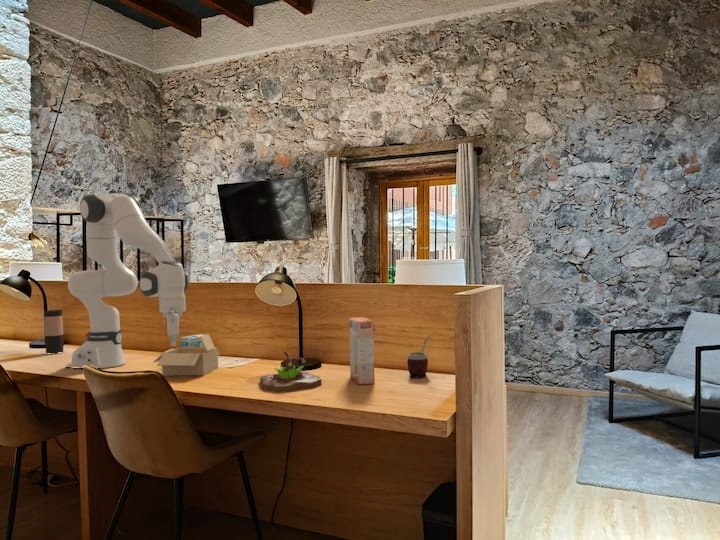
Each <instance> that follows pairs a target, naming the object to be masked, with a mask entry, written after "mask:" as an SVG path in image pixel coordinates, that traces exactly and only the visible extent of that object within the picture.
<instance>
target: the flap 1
mask: <svg viewBox="0 0 720 540" xmlns="http://www.w3.org/2000/svg"><path fill="white" fill-rule="evenodd" d="M162 353H163V352H162ZM199 355H200V353H163V355H162V357H161V359H160V360H159V361H157V365H156V366H157V367H162V366H195V364H196V362H197V359H198V357H199Z"/></svg>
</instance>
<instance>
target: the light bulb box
mask: <svg viewBox="0 0 720 540" xmlns="http://www.w3.org/2000/svg"><path fill="white" fill-rule="evenodd" d="M203 335H204V334H202V333H199V334H192V335H187V336H181V337H180V338H179V339H180V345H179V348H181V347H204V345H203V343H202V341H201V339H200V336H203ZM209 336H210V337H211V335H209Z"/></svg>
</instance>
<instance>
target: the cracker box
mask: <svg viewBox="0 0 720 540" xmlns="http://www.w3.org/2000/svg"><path fill="white" fill-rule="evenodd" d="M348 324H349V362H350V365H349V368H350V371H349V372H350V377H351V378H352V380H353V381H355V383H356V384H357V385H374V384H376V383H375V331H374V330H375V329H374V328H375V326H374V325H375V324H374V320H371V319H369V318H367V317H366V316H365V317H364V316H363V317H362V316H359V317H356V316H355V317H349V323H348Z"/></svg>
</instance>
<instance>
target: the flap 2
mask: <svg viewBox="0 0 720 540" xmlns="http://www.w3.org/2000/svg"><path fill="white" fill-rule="evenodd" d="M200 339H201V341H202V343H203V345H204V347H205V349H206V351H209V350H211V349H213V348H215V347H216V346H215V345H214V343H213V340H212V338H211V335H210V336H209V333H206V334H203V336H200Z"/></svg>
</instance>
